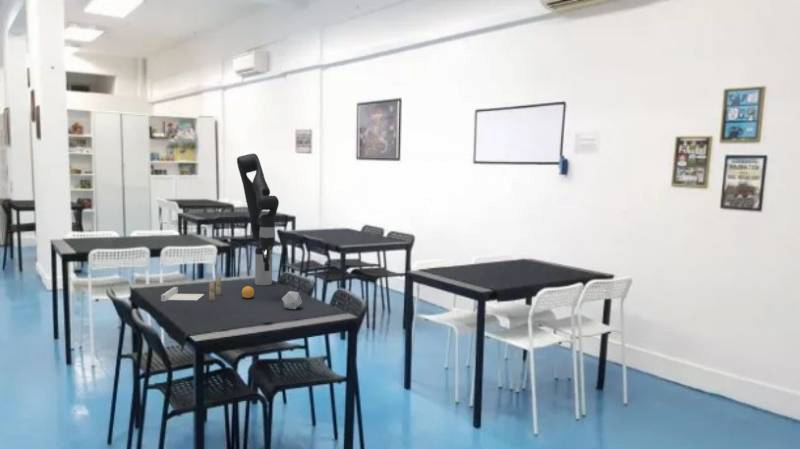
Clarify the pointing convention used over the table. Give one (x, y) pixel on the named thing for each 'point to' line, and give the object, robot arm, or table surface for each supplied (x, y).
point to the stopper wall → (169, 294)
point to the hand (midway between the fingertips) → (266, 270)
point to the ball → (247, 292)
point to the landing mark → (186, 297)
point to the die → (292, 300)
